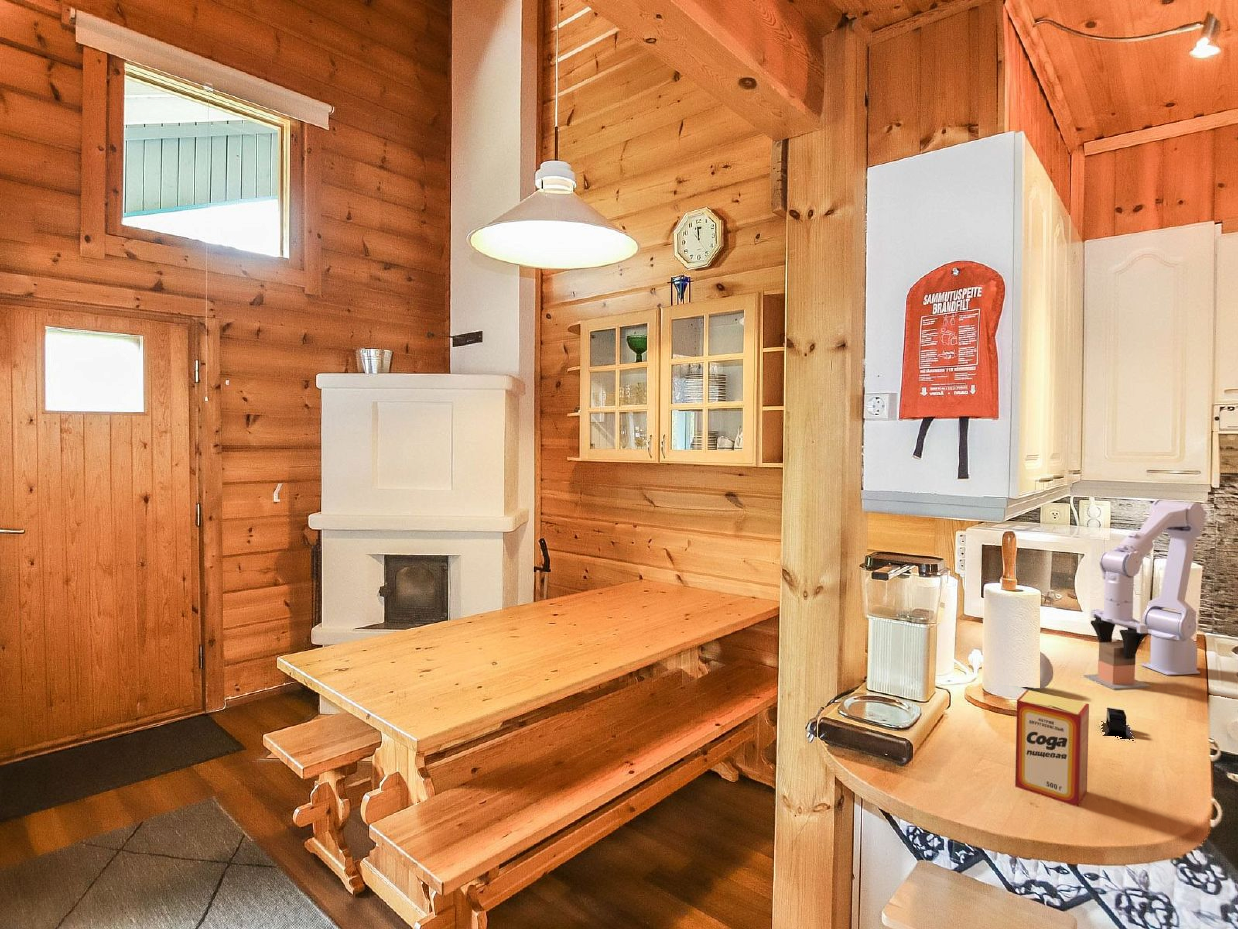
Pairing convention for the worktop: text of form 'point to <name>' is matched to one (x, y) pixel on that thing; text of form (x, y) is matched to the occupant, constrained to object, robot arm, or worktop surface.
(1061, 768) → the baking soda box
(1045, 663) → the grey rounded piece
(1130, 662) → the walnut block
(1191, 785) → the worktop surface
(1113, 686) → the baseplate
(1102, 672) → the terracotta block
